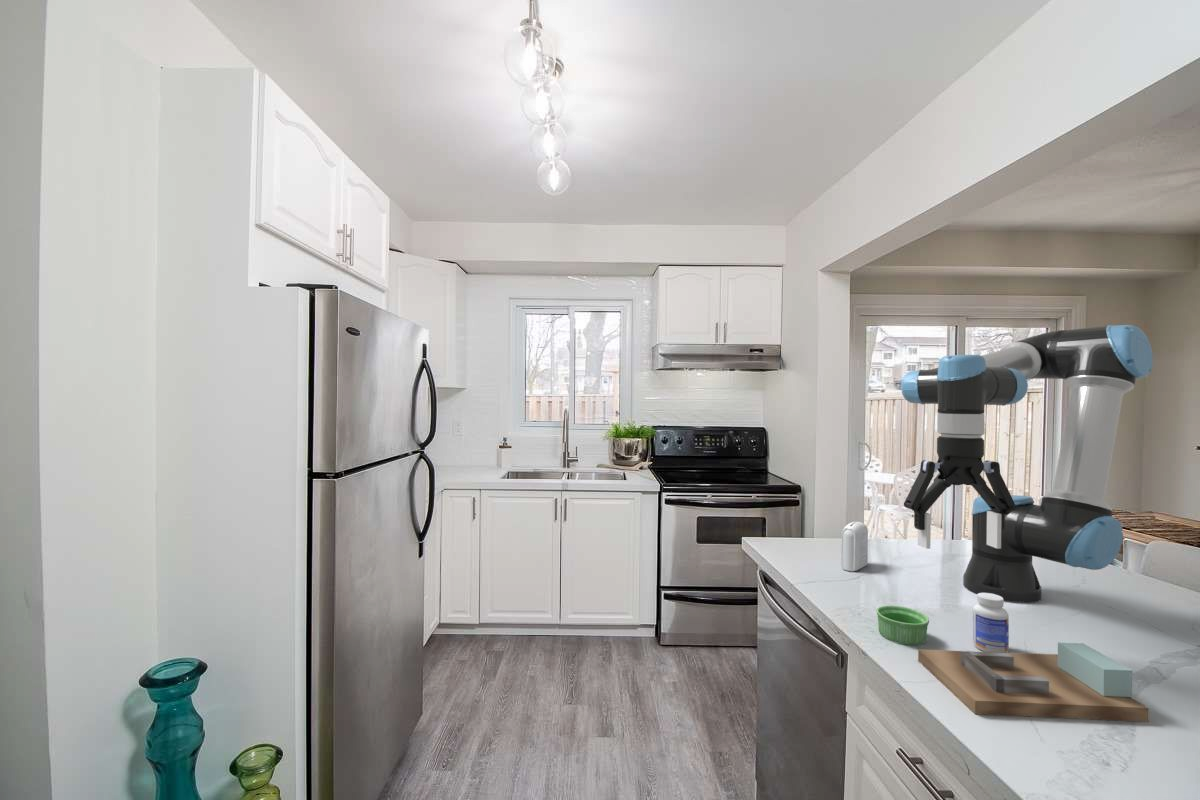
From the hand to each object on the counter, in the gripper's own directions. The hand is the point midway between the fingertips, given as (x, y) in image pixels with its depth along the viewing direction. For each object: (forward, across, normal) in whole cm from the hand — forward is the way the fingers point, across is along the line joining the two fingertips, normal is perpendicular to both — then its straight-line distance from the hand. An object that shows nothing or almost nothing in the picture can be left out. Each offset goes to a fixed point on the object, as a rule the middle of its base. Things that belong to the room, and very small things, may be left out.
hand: (958, 546), depth 103 cm
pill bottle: (+18, -4, +3) cm, 19 cm away
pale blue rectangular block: (+16, -9, +19) cm, 26 cm away
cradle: (+18, +1, +17) cm, 25 cm away
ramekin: (+18, +10, -2) cm, 21 cm away
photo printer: (+18, -2, -44) cm, 48 cm away
